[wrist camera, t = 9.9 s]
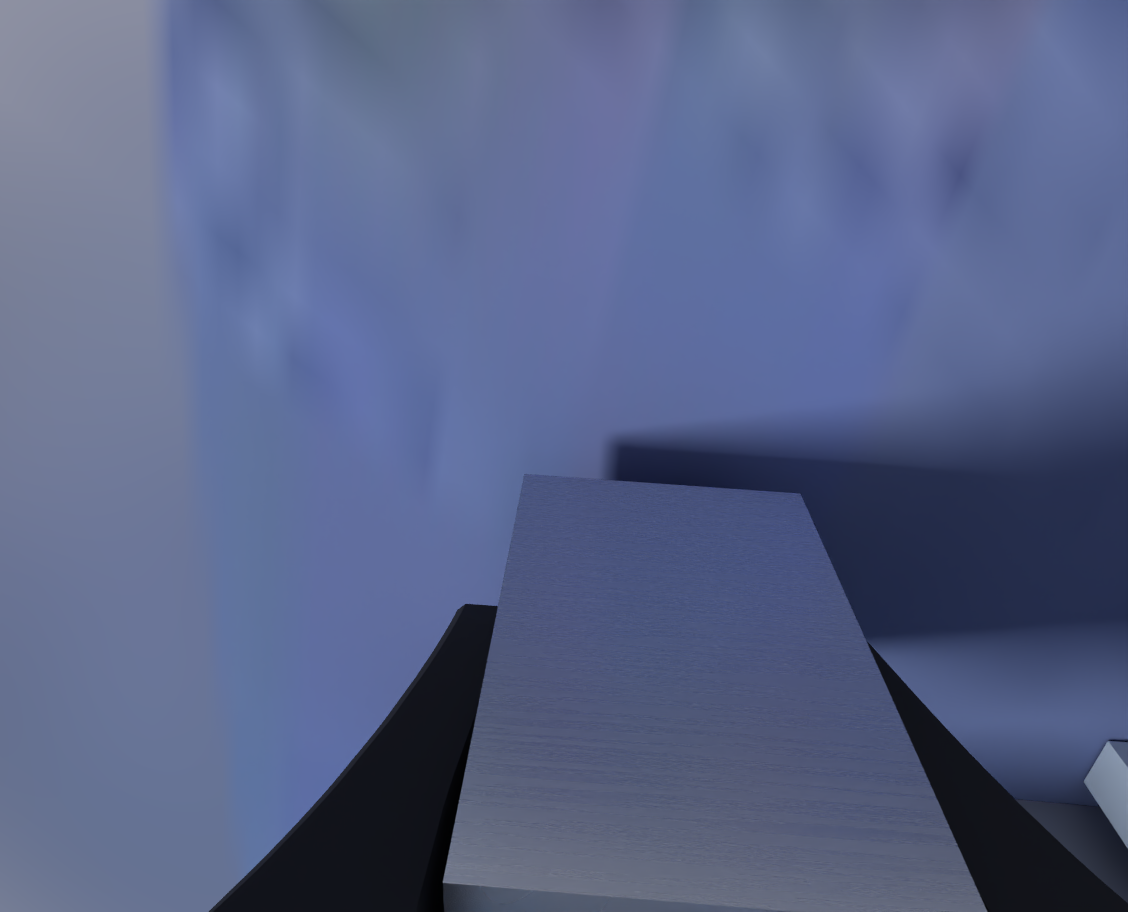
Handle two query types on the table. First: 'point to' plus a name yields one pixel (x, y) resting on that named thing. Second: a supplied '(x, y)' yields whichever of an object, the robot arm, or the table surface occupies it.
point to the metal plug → (688, 721)
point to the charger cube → (1086, 839)
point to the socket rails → (1112, 785)
